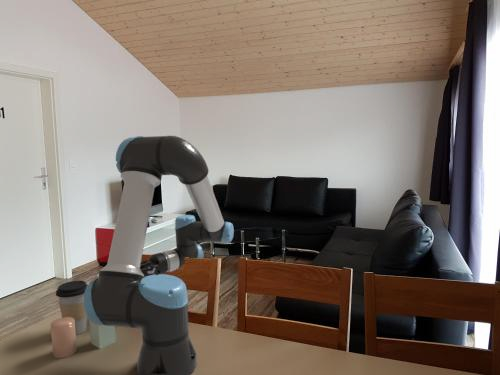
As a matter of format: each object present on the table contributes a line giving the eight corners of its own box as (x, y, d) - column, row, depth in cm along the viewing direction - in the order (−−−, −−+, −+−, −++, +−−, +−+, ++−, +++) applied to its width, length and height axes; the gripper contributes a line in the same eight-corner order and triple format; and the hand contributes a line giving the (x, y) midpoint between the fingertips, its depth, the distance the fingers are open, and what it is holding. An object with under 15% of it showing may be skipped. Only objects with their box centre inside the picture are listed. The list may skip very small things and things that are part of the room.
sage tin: (116, 341, 111) (115, 316, 110) (99, 349, 107) (97, 323, 106) (107, 335, 114) (105, 311, 113) (90, 343, 110) (88, 318, 109)
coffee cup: (97, 324, 122) (94, 279, 120) (82, 339, 112) (78, 291, 111) (70, 323, 123) (66, 279, 121) (52, 338, 113) (48, 290, 112)
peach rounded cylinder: (79, 352, 105) (77, 322, 104) (56, 361, 101) (53, 329, 100) (73, 344, 110) (70, 315, 109) (50, 352, 106) (48, 321, 105)
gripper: (173, 276, 132) (106, 296, 117) (156, 267, 142) (92, 285, 127) (172, 256, 131) (104, 273, 116) (155, 248, 141) (90, 263, 126)
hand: (98, 279), depth 121 cm, fingers closed
